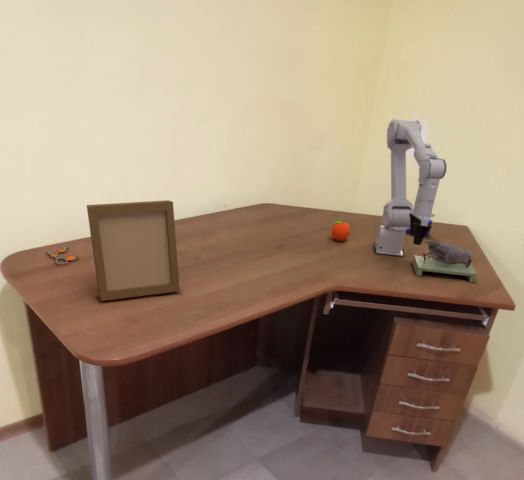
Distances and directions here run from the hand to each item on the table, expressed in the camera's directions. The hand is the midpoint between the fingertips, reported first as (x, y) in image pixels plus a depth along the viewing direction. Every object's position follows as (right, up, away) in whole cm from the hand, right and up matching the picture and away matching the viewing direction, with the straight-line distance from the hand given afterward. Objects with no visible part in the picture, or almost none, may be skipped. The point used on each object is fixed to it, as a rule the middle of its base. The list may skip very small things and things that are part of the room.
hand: (415, 240), depth 170 cm
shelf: (+11, -10, +6) cm, 16 cm away
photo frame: (-87, -18, -20) cm, 91 cm away
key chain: (-113, -7, -7) cm, 114 cm away
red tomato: (-22, +5, +23) cm, 32 cm away
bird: (+11, -8, +4) cm, 14 cm away
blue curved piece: (+9, +10, +36) cm, 38 cm away
